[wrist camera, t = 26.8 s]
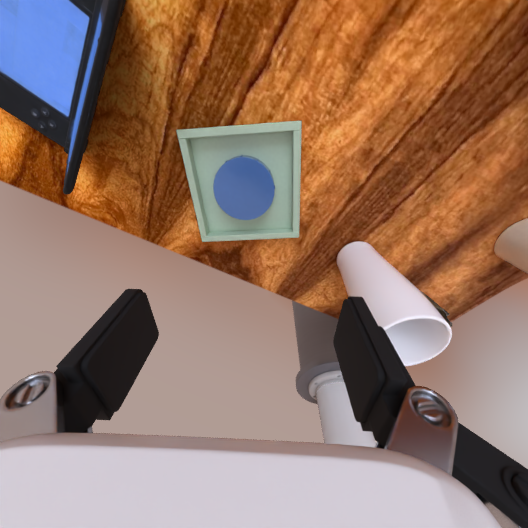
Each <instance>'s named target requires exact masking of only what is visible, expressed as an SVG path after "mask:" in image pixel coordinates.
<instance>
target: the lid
mask: <svg viewBox="0 0 528 528" xmlns="http://www.w3.org/2000/svg"><path fill="white" fill-rule="evenodd" d="M213 190H214V196H215V199H216V201H217V203H218V205H219V206H220V208H221V209H222V210H223V211H224V212H225V213H226V214H228V215H229V216H231V217H233V218H236V219H239V220H251V219H255V218H258V217H260V216H261V215H263V214H264V213H265V212H266V211H267V210H268V209H269V207H270V206H271V204H272V202H273V198H274V191H275V185H274V180H273V176H272V174H271V170H269V168H268V167H267V166H266V165H265V164H264V163H263V162H262V161H260V160H259V158H258V159H257V158H255V157H252V156H247V155H241V156H236V157H233V158H231V159H230V160H227V161H225V163H224V164H223V165H222V166H221V167H220V168H219V170H218V171H217V173H216V175H215V179H214V184H213Z"/></svg>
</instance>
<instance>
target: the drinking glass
mask: <svg viewBox="0 0 528 528" xmlns="http://www.w3.org/2000/svg"><path fill="white" fill-rule="evenodd" d="M337 266H338V268H339V270H340V273H341V276H342V279H343V282H344V285H345V288H346V291H347V295H348V297H349V296H357V297H363V299H364V300H365V302H366V304H367V306H368V308H369V310H370V311H371V313H372V315H373V317H374V319H375V321H376V323H377V324H378V326H381V327H382V328H383V329H384V330H385V332H386V334H387V335H388V337H389V339H390V341H391V343H392V344H393V346H394V348H395V350H396V352H397V353H398V355H399V357H400V359H401V361H402V362H403V364H404V366H410V365H415V364H419V363H422V362H425V361H427V360H430V359H431V358H433V357H435V356H437V355H438V354H440V353H441V352H442V351H443V350H444V349H445V348H446V347H447V346H448V344H449V343H450V341H451V337H452V330H451V327H450V325H449V324H448V323H447V322H446V320H445V319H444V318H443V317H442V315H441V314H440V313H439V312H438V310H437V309H436V308H435V307H434V306H433V304H432V303H431V302H430V301H429V300H428V299H427V298H426V297H425V296H424V295H423V294H422V292H421V291H419V290H418V289H417V288H416V287H415V286H414V285H413V284H412V283H411V282H410V281H409V280H408V279H406V278H405V277H404V276H403V275H402V274H401V273H400V272H399V271H397V270H396V269H395V268H394V267H393V266H392V265H391V264H390V263H389V262H388V261H386V260H385V259H384V258H383V257H382V256H381V255H380V254H379V253H378V252H377V251H376V250H375V249H374V248H373V247H372V246H371V245H370V244H368V243H366V242H361V241H357V242H352V243H349V244H347V245H346V246H344V247H343V248H342V249H341V250H340V252H339V253H338V256H337Z"/></svg>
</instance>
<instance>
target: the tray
mask: <svg viewBox="0 0 528 528" xmlns="http://www.w3.org/2000/svg"><path fill="white" fill-rule="evenodd" d="M301 129H302V121H289V122H275V123H262V124H249V125H235V126H222V127H209V128H195V129H182V130H176V132H177V136H178V139H179V144H180V149H181V153H182V157H183V161H184V166H185V170H186V174H187V179H188V183H189V187H190V191H191V196H192V200H193V204H194V209H195V213H196V217H197V221H198V226H199V230H200V234H201V239H202V242H213V241H234V240H256V239H278V238H299V219H300V174H301ZM241 155H247V156H252V157H255V158H257V159H258V158H259V160H260V161H262V162H263V163H264V164H265V165H266V166H267V167H268V168H269V170H271V174H272V176H273V180H274V185H275V191H274V198H273V202H272V204H271V206H270V207H269V209H268V210H267V211H266V212H265V213H264V214H263V215H261V216H260V217H258V218H255V219H251V220H239V219H236V218H233V217H231V216H229V215H228V214H226V213H225V212H224V211H223V210H222V209H221V208H220V206H219V205H218V203H217V201H216V199H215V196H214V190H213V184H214V179H215V175H216V173H217V171H218V170H219V168H220V167H221V166H222V165H223V164H224V163H225V161H227V160H230V159H231V158H233V157H236V156H241Z"/></svg>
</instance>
